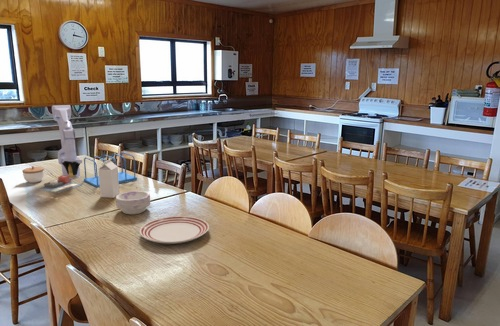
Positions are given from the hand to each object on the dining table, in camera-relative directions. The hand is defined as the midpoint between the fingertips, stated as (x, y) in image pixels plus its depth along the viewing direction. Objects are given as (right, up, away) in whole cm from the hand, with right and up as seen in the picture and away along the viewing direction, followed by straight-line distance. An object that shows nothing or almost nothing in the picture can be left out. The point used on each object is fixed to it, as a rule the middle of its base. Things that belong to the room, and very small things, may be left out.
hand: (72, 174), depth 214 cm
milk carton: (+27, -11, -14) cm, 32 cm away
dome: (-10, -6, -1) cm, 12 cm away
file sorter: (+17, -5, +12) cm, 22 cm away
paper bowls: (+46, -16, -36) cm, 60 cm away
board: (-5, -8, -3) cm, 10 cm away
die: (-7, -5, +5) cm, 10 cm away
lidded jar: (-26, -5, +8) cm, 27 cm away
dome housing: (-10, -7, -1) cm, 12 cm away
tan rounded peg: (0, -1, 0) cm, 2 cm away
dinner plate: (+70, -23, -60) cm, 95 cm away
